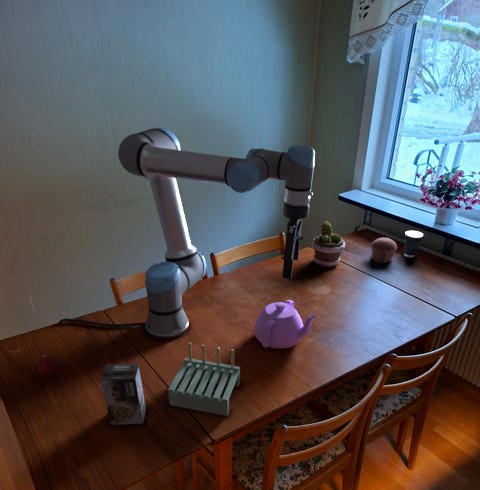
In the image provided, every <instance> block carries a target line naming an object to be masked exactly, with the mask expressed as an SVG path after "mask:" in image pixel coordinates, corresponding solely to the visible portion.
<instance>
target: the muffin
mask: <svg viewBox="0 0 480 490" xmlns="http://www.w3.org/2000/svg"><path fill="white" fill-rule="evenodd" d="M370 246H371V259H372V261H373V262H376V263H380V264H387V263H388V264H389V263H390V262H391V261H392V260H393V258H394V254H395V252H396V250H398V246H397V243H396V242H395V241H394V240H393V239H391V238H389V237H379V238H376V239H375V240H373V241H372V243H371V245H370Z"/></svg>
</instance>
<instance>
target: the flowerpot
mask: <svg viewBox="0 0 480 490" xmlns="http://www.w3.org/2000/svg"><path fill="white" fill-rule="evenodd" d="M333 229H334V226H333V223H331V222H330V221H329V219H327V220H323V221H322V224H320V225H319V231H320V234H319V235H317V236H315V237H314V238H313V240H312V242H311V243H312V244H311V245H312V248H313V250H314V251H313V252H314V254H313V260H314V262H315V264H316V265H318V266H319V267H322V268H334V267H336V266H337V265H338V264H339V263H340V261H341V255H342V252H343V251H345V247H346V242H345V241H344V239H342V236H340V234H338V233H337V232H335V233H333Z"/></svg>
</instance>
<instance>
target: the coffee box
mask: <svg viewBox="0 0 480 490" xmlns="http://www.w3.org/2000/svg"><path fill="white" fill-rule="evenodd" d="M140 368H141V367H140V363H121V364H120V363H119V364H118V363H117V364H115V363H114V364H105V366H104V368H103V370H102V375H101V377H100V384H101V389H102V392H103V397H104V402H105V405H106V410H107V415H108V419H109V425H112V426H113V425H115V426H116V425H143V424H144V421H145V417H146V412H147V405H146V399H145V394H144V386H143V381H142V375H141V369H140Z"/></svg>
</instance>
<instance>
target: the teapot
mask: <svg viewBox="0 0 480 490" xmlns="http://www.w3.org/2000/svg"><path fill="white" fill-rule="evenodd" d="M316 318H318V315H316V314H310V315H308V316H307V317H306V319H305V320H304V323H303V320H302V318H301V316H300V313H298V311H297V310H296V308H295V302H294V301H293V300H291V299H286V300H285V302H282V301H278V302H277V301H276V302H271V303H269V304H267V305H266V306H265V307H264V308H263V310H262V311H261V312H260V313H259V315H258V316H257V317H256V319H255V322H254V326H253V334H254V336H255V338H256V339H257V340H258V341H259V342H260V343H261V345H262V347H263V348H271V349H276V350H284V349H289V348H292V347H294V346H295V345H297V344H298V343H299V342H300V341H302V339H303V338H305V337H307V335H308V334H309V333H310V330H311V324H312V321H313V320H314V319H316Z"/></svg>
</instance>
